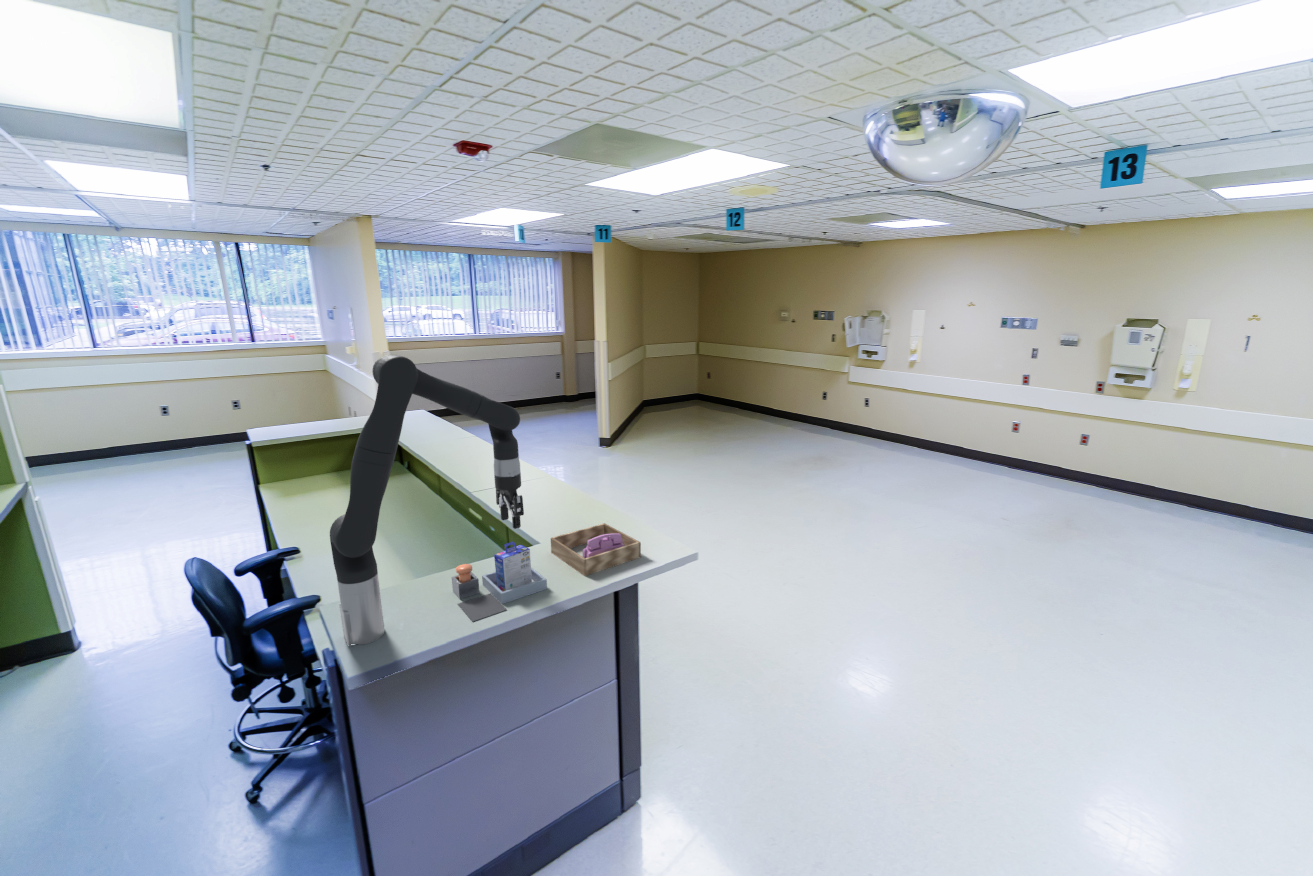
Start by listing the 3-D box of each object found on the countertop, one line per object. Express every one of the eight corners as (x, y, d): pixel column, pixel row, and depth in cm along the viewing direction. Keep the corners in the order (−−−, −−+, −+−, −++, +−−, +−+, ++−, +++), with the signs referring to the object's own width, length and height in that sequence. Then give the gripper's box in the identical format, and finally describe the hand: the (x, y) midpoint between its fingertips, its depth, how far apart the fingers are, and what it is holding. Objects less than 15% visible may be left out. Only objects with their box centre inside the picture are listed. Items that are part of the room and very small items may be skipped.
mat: (472, 622, 153) (472, 621, 153) (457, 605, 162) (457, 603, 162) (507, 610, 159) (507, 609, 159) (490, 594, 168) (490, 593, 168)
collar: (501, 604, 162) (501, 593, 161) (482, 585, 173) (482, 575, 172) (547, 589, 171) (546, 579, 170) (526, 572, 182) (525, 562, 181)
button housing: (459, 600, 165) (458, 584, 164) (452, 592, 169) (451, 577, 168) (479, 593, 168) (478, 578, 167) (472, 586, 173) (471, 571, 172)
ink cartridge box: (522, 579, 177) (520, 537, 174) (533, 585, 174) (531, 541, 171) (495, 590, 170) (492, 546, 167) (505, 596, 167) (503, 551, 164)
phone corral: (584, 577, 179) (584, 559, 178) (551, 553, 196) (550, 537, 195) (640, 558, 193) (640, 542, 191) (604, 538, 210) (604, 523, 209)
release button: (461, 597, 166) (459, 572, 164) (455, 591, 169) (453, 566, 167) (476, 592, 168) (474, 568, 167) (470, 586, 172) (468, 562, 170)
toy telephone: (619, 554, 196) (619, 527, 194) (627, 561, 191) (627, 533, 189) (572, 565, 188) (571, 538, 185) (580, 573, 182) (579, 544, 180)
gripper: (485, 469, 167) (489, 519, 171) (505, 480, 156) (508, 534, 160) (509, 464, 172) (512, 514, 175) (529, 475, 161) (532, 527, 164)
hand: (510, 523), depth 167 cm, fingers open, 8 cm apart
